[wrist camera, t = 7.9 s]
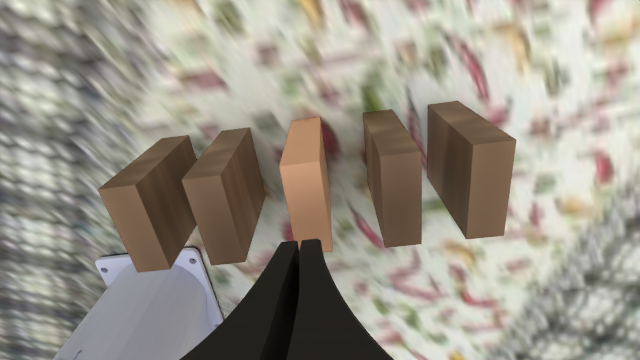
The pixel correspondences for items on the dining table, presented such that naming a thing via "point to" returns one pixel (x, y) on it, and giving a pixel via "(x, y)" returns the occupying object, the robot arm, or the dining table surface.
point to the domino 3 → (307, 182)
